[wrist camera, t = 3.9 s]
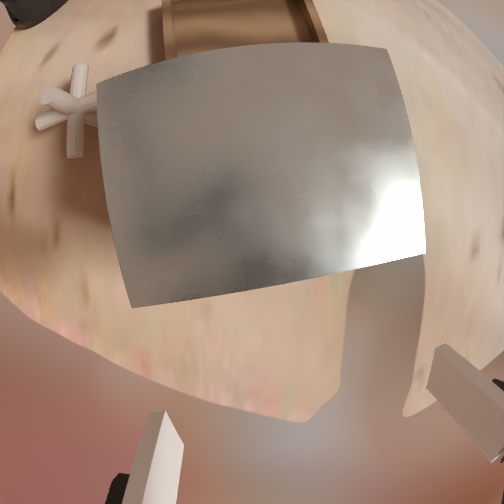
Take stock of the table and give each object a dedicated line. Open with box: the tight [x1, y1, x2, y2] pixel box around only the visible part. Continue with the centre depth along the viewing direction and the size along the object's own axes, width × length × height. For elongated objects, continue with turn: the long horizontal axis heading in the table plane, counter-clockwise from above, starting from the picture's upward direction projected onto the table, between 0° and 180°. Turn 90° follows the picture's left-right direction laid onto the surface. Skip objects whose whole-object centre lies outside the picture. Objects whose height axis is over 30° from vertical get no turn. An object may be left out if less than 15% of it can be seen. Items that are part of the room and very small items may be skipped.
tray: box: [162, 0, 329, 60], centre depth 22 cm, size 17×17×2 cm
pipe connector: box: [35, 63, 98, 159], centre depth 19 cm, size 10×10×10 cm
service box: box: [97, 42, 425, 308], centre depth 19 cm, size 13×16×15 cm
